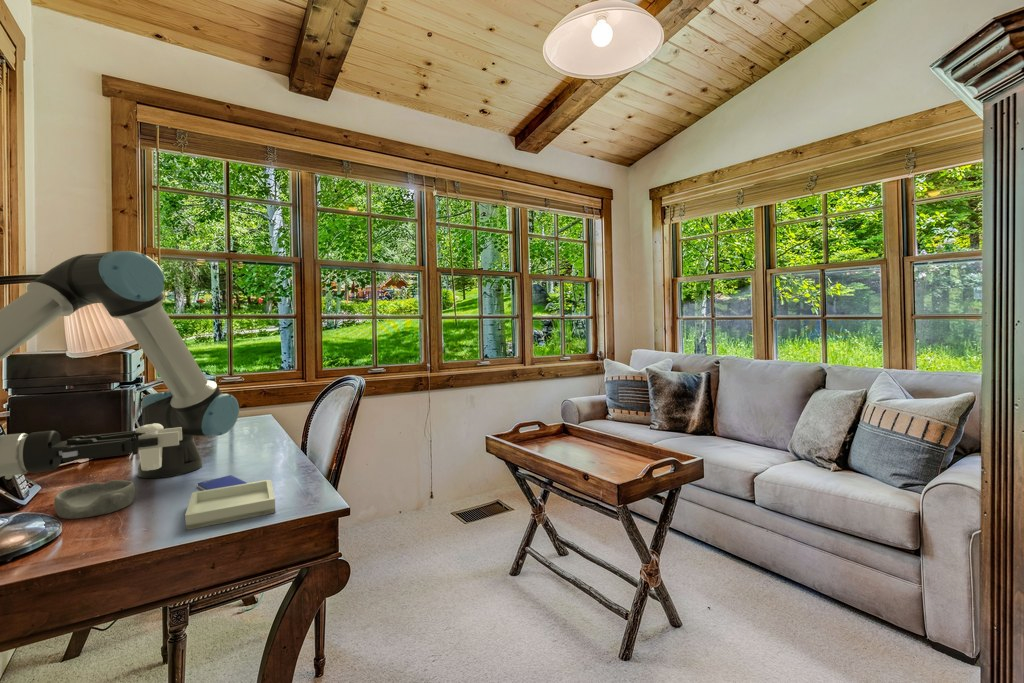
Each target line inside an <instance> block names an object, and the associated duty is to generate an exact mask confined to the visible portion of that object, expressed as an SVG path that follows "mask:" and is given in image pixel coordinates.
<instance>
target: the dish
mask: <svg viewBox="0 0 1024 683" xmlns="http://www.w3.org/2000/svg"><path fill="white" fill-rule="evenodd" d="M135 496H136V487H135V483H134V482H133V481H132V480H125V479H124V480H123V479H113V480H109V481H106V482H96V481H95V482H92V483H87V484H82V485H77V486H74V487H70V488H66V489H64V490H61V491H60V492H58V493H56V495H55V497H54V509H55V512H56V514H57V516H58V517H59V518H62V519H65V520H66V519H68V520H69V519H71V520H72V519H83V518H91V517H96V516H98V517H99V516H103V515H107V514H111V513H114V512H116V511H119V510H122V509H124V508H126V507H128V506H130V505H132V503H133V502H134V501H135Z"/></svg>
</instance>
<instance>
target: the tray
mask: <svg viewBox="0 0 1024 683" xmlns="http://www.w3.org/2000/svg"><path fill="white" fill-rule="evenodd" d="M275 513H276V497H275V493H274V488H273V483H272V480H271V479H266V480H265V479H264V480H257V481H253V482H247V483H246V484H240V485H234V486H228V487H222V488H216V489H210V490H198V491H193V492H191V496H190V499H189V502H188V504H187V509H186V512H185V516H184V517H185V531H189V530H193V529H194V530H195V529H199V528H204V527H205V528H206V527H211V526H214V525H220V524H224V523H228V522H229V523H230V522H235V521H241V520H244V519H249V518H257V517H260V516H265V515H269V514H275Z"/></svg>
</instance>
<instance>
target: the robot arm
mask: <svg viewBox="0 0 1024 683" xmlns="http://www.w3.org/2000/svg"><path fill="white" fill-rule="evenodd" d="M165 281H166V278H165V275H164V271H163V270H162V268H161V267H160V265H159V264H158V263H157V262H156V261H155V260H154V259H153V258H151V257H150V256H148V255H147V254H145V253H141V252H139V251H132V250H131V251H130V250H128V251H127V250H114V251H107V252H97V253H85V254H80V255H75V256H73V257H70V258H68V259H66V260H63V261H62V262H61V263H58V264H57V265H55V266H54V267H52V268H50V269H49V270H48V271H46V272H44V273H43V274H42V275H40V276H39V277H36V278H35V279H34V280H32V281H31V282H30V283H28V284H27V285H26V292H24V293H22V295H20V296H19V297H17V298H15V299H14V300H12V301H11V302H10V303H8V304H7V305H5V306H4V307H2V308H1V309H0V362H1V361H2V360H4V359H5V358H7V357H8V356H9V355H10V354H12V353H13V352H14V351H16V350H17V349H19V348H20V347H21V346H22V345H24V344H25V343H26V342H28V341H29V340H30V339H32V338H33V337H34V336H37V335H38V333H40V332H41V331H43V330H44V329H45V328H47V327H48V326H49V325H51V323H54V322H55V321H56V320H57V319H58V318H60V317H69V316H72V314H74V313H75V312H76V311H77V310H79V309H81V308H84V307H87V306H89V305H90V306H91V305H94V304H102V305H103V307H104V308H105V310H106V311H107V313H108V314H109V316H110V317H111V318H115V319H119V320H122V321H123V322H124V325H125V326H126V328H127V330H128V331H129V332H130V334H131V335H132V336H133V338H134V339H135V341H136V342H137V343H138V345H139V347H140V348H141V350H142V351H143V353H144V355H145V356H146V358H147V360H148V361H149V362H150V364H151V365H152V366H153V368H154V370H155V372H156V373H157V374H158V375H159V377H160V379H161V380H162V383H164V384H165V387H166V388H167V390H168V391H161V392H156V393H150V394H146V395H144V397H143V398H142V401H141V417H142V426H144V425H148V424H153V423H158V424H161V425H162V426H163V427H164V429H163V433H159V434H150V435H141V436H138V440H137V436H136V430H130V431H129V430H128V431H121V432H120V431H118V432H110V433H100V434H85V435H77V436H75V435H74V436H71V438H68V439H66V440H63V439H62V438H61V435H60V433H59V432H58V431H56V430H45V431H44V430H43V431H36V432H35V431H34V432H31V433H29V434H28V433H25V432H21V433H19V432H18V433H10V434H2V435H0V478H1V477H4V479H5V480H11V479H13V477H14V476H19V475H25V474H27V473H30V474H37V473H43V472H53V471H55V470H57V469H58V468H59V467H60V465H61V462H62V463H69V462H74V461H77V460H83V459H84V460H86V459H95V458H100V457H108V456H117V455H125V454H126V455H128V454H131V453H132V456H134V455H138V454H139V450H143V449H151V448H159V447H162V467H161V468H158V469H154V470H148V471H143V470H142V469H141V462H140V461H139V463H138V466H137V477H138V478H142V479H158V478H161V479H162V478H166V477H173V476H178V475H179V476H180V475H183V474H187V473H191V472H193V471H196V470H198V469H200V468H201V467H203V458H202V454H201V453H200V451H199V450H198V449H199V448H198V447H197V445H196V442H195V439H194V438H195V437H211V438H212V437H218V436H223V435H226V434H227V433H229V432H231V430H233V428H234V427H235V425H236V423H237V421H238V417H239V414H240V405H239V402H238V400H237V398H236V397H235V396H234V395H232V394H229V393H226V392H225V393H223V392H222V391H221V389H220V388H219V386H218V384H217V383H216V382H215V381H213V380H210V379H207V378H206V375H204V372H203V371H202V370H201V368H200V366H199V364H198V363H197V361H196V360H195V358H194V357H193V355H192V353H191V352H190V349H189V348H188V346H187V345H186V343H185V341H184V340H183V338H182V336H181V335H180V333H179V331H178V330H177V328H176V327H175V324H174V323H173V321H172V320H171V318H170V316H169V315H168V313H167V311H166V310H165V308H164V306H163V302H164V301H165V298H166V296H165V294H164V293H163V292H164V290H165V284H164V283H165Z"/></svg>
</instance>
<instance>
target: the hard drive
mask: <svg viewBox="0 0 1024 683" xmlns="http://www.w3.org/2000/svg"><path fill="white" fill-rule="evenodd" d="M246 483H248V482H246V481H245V480H242V479H241V478H239V477H236V476H234V475H232V474H231V475H225V476H221V477H217V478H214V479H212V478H211V479H209V480H204V481H201V482H198V483H197V487H198V488H199V489H201V491H204V490H210V489H216V488H222V487H228V486H234V485H240V484H246Z"/></svg>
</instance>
